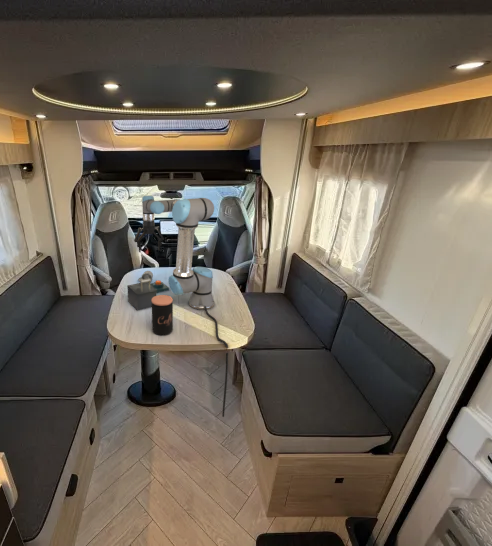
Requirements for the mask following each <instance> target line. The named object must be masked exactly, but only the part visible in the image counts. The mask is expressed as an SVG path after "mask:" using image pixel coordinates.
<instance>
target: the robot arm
mask: <svg viewBox="0 0 492 546" xmlns="http://www.w3.org/2000/svg"><path fill="white" fill-rule="evenodd" d="M141 204H142V205H141V206H142V208H141V209H142V227H138V229H137V232H136V235H135V236H134V239H133V242H134V243H136V247H137V248H138V253H141V241H142V240H143V238H144V237H145V235H152V234H153V235H154V236H155V238H157V240H158V241H157V250H158V251H160V252H161V246H162V245H163V243H162V242H163V241H165V237H164V235H163V233H162V232H161V230H160V227H159V226H158V225H157V226H155V215H161V214H163V213H171V217H172V220H173V222H174V223H175V226H176V227H177V228H178V231H177V245H176V246H177V247H176V263H175V268H174V269H173V271H172V275H170V276H169V277H168V287H169V290H171V292H172V294H173V295H175V296H181V295H182V296H183V295H184V294H185V295H186V294H190V293H191V295H190V297H189V300H188V305H189V306H190V307H191V308H193V309H195V310H199V311H205V313H206V315H207V316H208V317H209V318H210V319H212V320H213V321H214V323H215V335H216V336H215V337H216V339H217V340H218V341H219V342H221V343H223V344H224V345H225V348H226V349H228V348H229V345H228V343H227V342H226V341H225V340H223V339H221V337H219V329H218V321H217V319H216V318H215V317H214V316H212V315H211V314H210V313H209V312H208V310H210V309H213V307H214V306H215V300H214V296H213V293H212V292H213V278H214V277H213V275H214V274H213V270H211V269H210V268H208V267H204V266H195V267H192V265H193V253H194V244H195V234H196V233H195V231H196V229H197V228H198V227H199V222H202V221H206V220H209V219H210V218H211V217H212V216H213V214H214V212H215V204H214V202H213V201H212V200H210V199H209V198H207V197H197V198H195V197H194V198H183V199H180V198H174V199H162V200H155V198H154V196H153V195H142V197H141ZM142 231H143V232H142ZM155 231H157V233H158V234H159V235H158V234H157V233H156V232H155ZM141 232H142V233H141ZM140 234H141V235H140ZM228 369H229V352H226V353H225V375H224V376H225V377H224V389H223V401H222V403H223V404H222V412H221V413H222V414H221V417H223V418H224V417H225V412H226V411H225V409H226V397H227V386H228V373H229V372H228V371H229V370H228Z"/></svg>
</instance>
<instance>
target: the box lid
mask: <svg viewBox="0 0 492 546" xmlns="http://www.w3.org/2000/svg"><path fill="white" fill-rule="evenodd" d="M150 281H151V279H150V278H148V279H143V280H140V282H138V283H133V284H128V285H127V286H126V288H127V287H128V288H129V289H130V290H132V291H133V292H134V293H135V294H136V295H137V296H140V295H144V294H149V293H153V292H157V290H156V289H155V288H153V287H152V286H151V285H150V284H151V282H152V281H151V282H150ZM147 282H149V283H147Z"/></svg>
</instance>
